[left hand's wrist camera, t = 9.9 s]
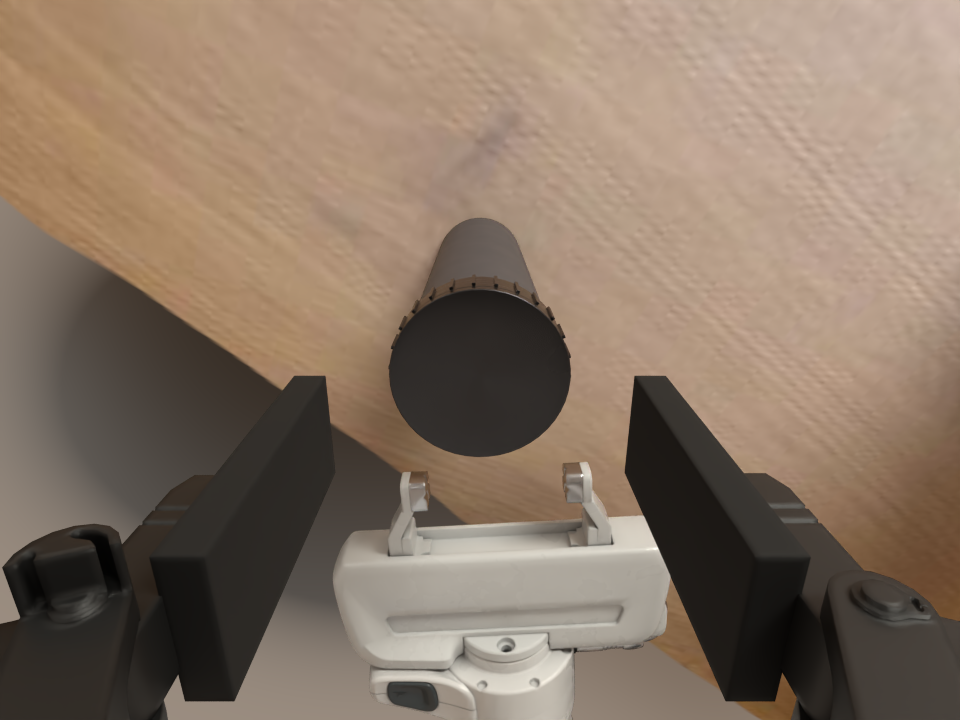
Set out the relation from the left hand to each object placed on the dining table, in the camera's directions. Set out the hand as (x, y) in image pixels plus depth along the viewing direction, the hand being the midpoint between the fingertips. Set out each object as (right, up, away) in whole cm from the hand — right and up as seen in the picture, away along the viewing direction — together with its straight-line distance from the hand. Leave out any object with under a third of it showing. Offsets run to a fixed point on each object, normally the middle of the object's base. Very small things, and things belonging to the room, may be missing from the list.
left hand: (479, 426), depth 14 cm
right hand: (+1, -5, +19) cm, 19 cm away
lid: (0, +1, +3) cm, 4 cm away
